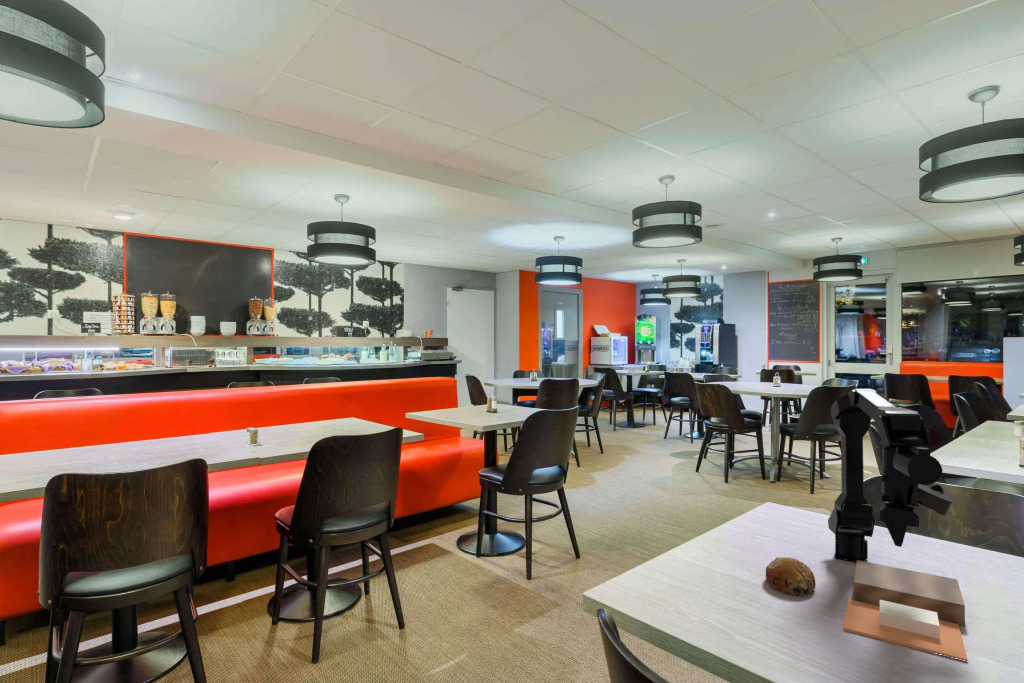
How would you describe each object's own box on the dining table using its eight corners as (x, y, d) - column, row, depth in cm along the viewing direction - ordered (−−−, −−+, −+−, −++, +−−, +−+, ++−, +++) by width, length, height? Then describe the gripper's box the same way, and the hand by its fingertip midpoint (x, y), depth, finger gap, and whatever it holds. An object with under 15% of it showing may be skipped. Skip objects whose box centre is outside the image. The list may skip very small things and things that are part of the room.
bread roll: (814, 601, 120) (812, 563, 124) (818, 599, 112) (816, 558, 115) (765, 592, 125) (765, 556, 128) (766, 590, 116) (765, 551, 119)
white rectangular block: (879, 599, 107) (879, 611, 107) (879, 611, 102) (879, 624, 102) (936, 612, 102) (936, 625, 102) (939, 625, 97) (939, 639, 97)
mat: (843, 630, 101) (843, 627, 101) (847, 601, 113) (847, 598, 113) (967, 662, 91) (967, 659, 91) (958, 627, 102) (958, 624, 102)
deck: (853, 600, 113) (853, 581, 113) (856, 577, 124) (856, 560, 124) (964, 626, 103) (964, 605, 103) (957, 598, 114) (957, 579, 114)
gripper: (953, 488, 98) (952, 572, 99) (945, 467, 114) (944, 539, 114) (879, 479, 105) (879, 558, 105) (881, 460, 120) (881, 528, 120)
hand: (898, 545), depth 111 cm, fingers closed
